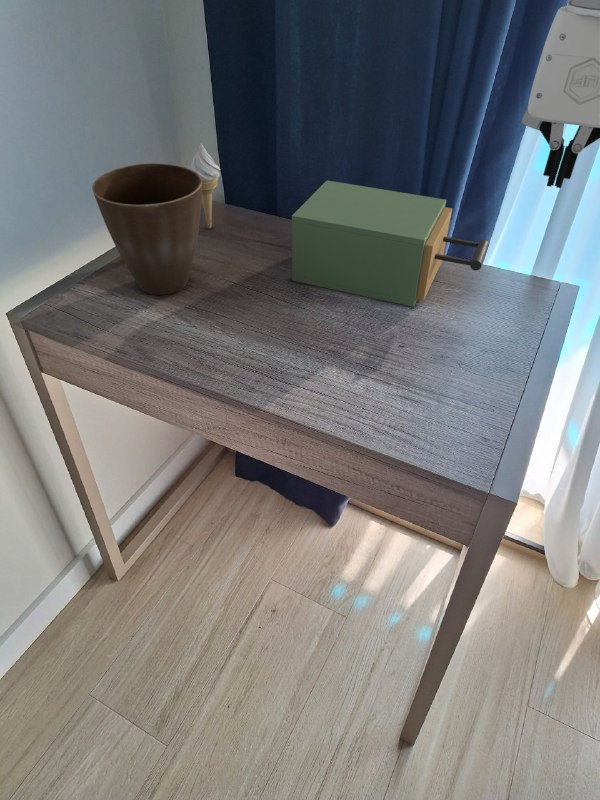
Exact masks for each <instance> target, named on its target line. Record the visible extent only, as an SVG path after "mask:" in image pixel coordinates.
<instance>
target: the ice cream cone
mask: <svg viewBox="0 0 600 800" xmlns="http://www.w3.org/2000/svg"><path fill="white" fill-rule="evenodd" d="M188 168H189V169H191V170H193V171H195V172H196V173H198V174H199V176H200V177H201V179H202V195H201V205H202V208H203V212H204V216H205V222H206V227H207V228H208V229H211V228H212V216H213V215H212V214H213V212H212V211H213V192H214V190H215V188H217V187H218V180H219V177H221V176H220V175H221V173H220V172H221V168H220V167H219V165H218V164H216V162H215V160H214V158H212V156H211V155H210V154H209V153H208V151H207V150H206V148H205V146H204V145H203V143H202V142H200V144H199V147H198V150H197V152H196V154H195V156H194V157H193V160H192V161H191V162H190V165H189V166H188Z"/></svg>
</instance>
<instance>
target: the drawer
mask: <svg viewBox="0 0 600 800" xmlns="http://www.w3.org/2000/svg"><path fill="white" fill-rule="evenodd" d="M452 213H453V208H452V207H446V206H445V208H444V210H443V211H442V213H441V215H440V217H439V219H438V221H437V223H436V225H435V226H434V228H433V230H432V232H431V234H430V235H429V237H428V239H427V240H426V242H425V246H424V252H423V258H422V264H421V270H420V276H419V282H418V288H417V294H416V300H417V301H420V302H424V301H425V299H426V297H427V294H428V293H429V290H430V288H431V286H432V284H433V281H434V280H435V277H436V275H437V273H438V271H439V269H440V266H441V265H442V263H443V262H449V263H455V264H459V265H463V266H464V265H465V266H470V269H471V270H472V271H476V272H477V271H479V270H481V269H482V266H483V264H484V261H485V259H486V255H487V252H488V249H489V247H490V243H489V241H488V240H487V239H481V240H480V241H478V242H476V241H471V240H467V239H461V238H456V237H450V236H448V233H449V229H450V223H451V218H452ZM447 243H449V244H454V245H460V246H465V247H472V248H475V251H474V253H473V256H472V259H465V258H460V257H456V256H451V255H445V250H446V244H447Z"/></svg>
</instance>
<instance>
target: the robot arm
mask: <svg viewBox="0 0 600 800" xmlns="http://www.w3.org/2000/svg"><path fill="white" fill-rule="evenodd" d="M531 85H532V86H531V89H530V94H529V98H528V104H527V108H526V109H525V111H524V114H523V116H522V118H521V123H522V125H523V126H527V128H528V127H529V128H531V129H533V130H537V131H540V133H541V135H542V137H543V138H544V139H545V141H546V142H547V144H548V146H549V147H548V148H549V149H550V150H549V153H548V155H547V160H546V163H545V167H544V170H543V173H542V174H543V176H545V177H548V178H547V183H546V187H550V188H552V186H553V187H556V188H557V189H561V188H562V186H563V183H564V179H565V180H571V178H572V174H573V172H574V168H575V165H576V162H577V159H578V155H579V153H581V152H582V151H583V150H584V149H585V148H587V147H589V146H590V145H591V144H593V143H595V142H596V141H598V140H599V139H600V0H568V1H567V4H566V6H565V5H564V6H561V7H559V8H558V10H557V12H556V14H555V16H554V18H553V21H552V23H551V26H550V28H549V31H548V34H547V35H546V39H545V42H544V45H543V48H542V52H541V55H540V58H539V61H538V65H537V68H536V72H535V75H534V79H533V82H532V84H531ZM565 125H572V126H578V128H577V130H576V132H575V134H574V136H573V138H572V139H571V140H569V142H568V145H564V144H565V139H564V137H563V136H564V129H565Z"/></svg>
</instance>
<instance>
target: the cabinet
mask: <svg viewBox="0 0 600 800" xmlns="http://www.w3.org/2000/svg"><path fill="white" fill-rule="evenodd" d="M446 204H447V199H445V198H438V197H432V196H426V195H419V194H413V193H407V192H400V191H395V190H388V189H382V188H376V187H371V186H370V187H369V186H366V185H365V186H364V185H357V184H351V183H346V182H339V181H333V180H325V182H323V184H322V185H321V186H319V188H318V189H317V190H316V191H315V192H314V193H312V195H311V196H310V197H309V198H308V199H307V200H306V201H305V202H304V203H303V204H302V205H301V206H300V207H299V208H298V209H296V211H295V212H294V213H293V214H292V215H291V281H293V282H296V283H297V282H298V283H302V284H306V285H310V286H316V287H319V288H325V289H330V290H334V291H339V292H342V293H343V292H344V293H348V294H352V295H357V296H361V297H367V298H371V299H376V300H381V301H384V302H388V303H394V304H398V305H402V306H408V307H415V305H416V303H417V301H418V300H416V294H417V288H418V282H419V276H420V270H421V264H422V258H423V252H424V246H425V242H426V240H427V239H428V237H429V235H430V234H431V232H432V230H433V228H434V226H435V225H436V223H437V221H438V219H439V217H440V215H441V213H442V211H443V210H444V208H445V207H446Z"/></svg>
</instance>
